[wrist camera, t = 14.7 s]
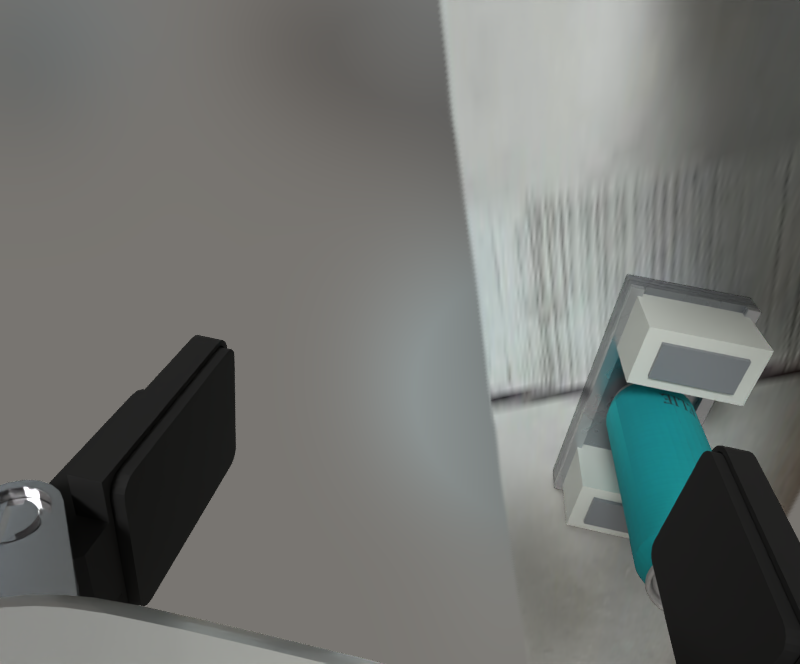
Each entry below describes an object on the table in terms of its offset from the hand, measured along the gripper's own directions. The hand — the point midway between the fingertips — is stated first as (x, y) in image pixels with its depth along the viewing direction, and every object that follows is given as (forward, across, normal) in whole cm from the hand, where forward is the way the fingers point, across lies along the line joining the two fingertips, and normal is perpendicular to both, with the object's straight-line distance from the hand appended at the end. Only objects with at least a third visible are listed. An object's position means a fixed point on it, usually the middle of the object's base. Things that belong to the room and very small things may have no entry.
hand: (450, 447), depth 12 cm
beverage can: (+27, -14, +16) cm, 34 cm away
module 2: (+27, -14, +9) cm, 32 cm away
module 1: (+27, -15, +23) cm, 38 cm away
